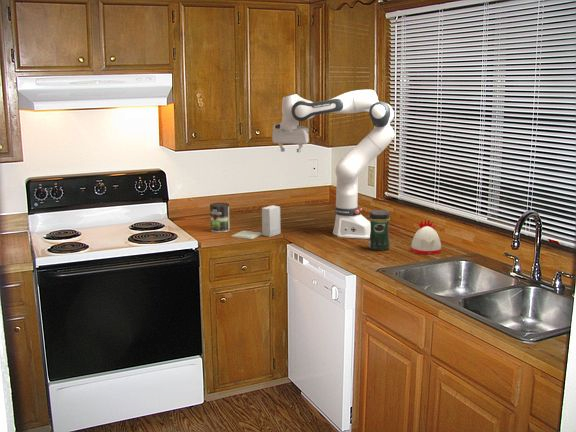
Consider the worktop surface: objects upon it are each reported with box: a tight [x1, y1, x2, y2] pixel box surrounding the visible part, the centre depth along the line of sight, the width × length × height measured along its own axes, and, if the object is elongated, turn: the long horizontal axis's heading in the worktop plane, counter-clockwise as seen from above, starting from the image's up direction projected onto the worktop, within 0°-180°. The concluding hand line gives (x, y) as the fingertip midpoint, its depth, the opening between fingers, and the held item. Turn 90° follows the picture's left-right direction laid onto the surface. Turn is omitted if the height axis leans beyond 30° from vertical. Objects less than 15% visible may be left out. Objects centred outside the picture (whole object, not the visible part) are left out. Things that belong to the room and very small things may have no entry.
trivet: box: [230, 230, 263, 240], centre depth 337 cm, size 12×12×1 cm
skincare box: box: [261, 204, 282, 238], centre depth 336 cm, size 8×6×15 cm
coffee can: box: [209, 202, 231, 233], centre depth 348 cm, size 10×10×14 cm
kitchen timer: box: [410, 218, 442, 255], centre depth 304 cm, size 14×14×15 cm
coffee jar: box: [368, 209, 391, 251], centre depth 308 cm, size 10×8×19 cm
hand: (290, 151), depth 344 cm, fingers open, 8 cm apart
